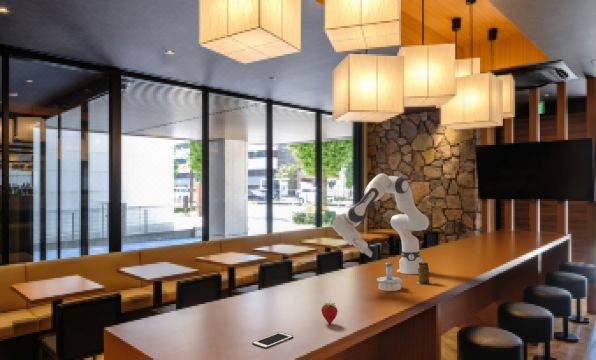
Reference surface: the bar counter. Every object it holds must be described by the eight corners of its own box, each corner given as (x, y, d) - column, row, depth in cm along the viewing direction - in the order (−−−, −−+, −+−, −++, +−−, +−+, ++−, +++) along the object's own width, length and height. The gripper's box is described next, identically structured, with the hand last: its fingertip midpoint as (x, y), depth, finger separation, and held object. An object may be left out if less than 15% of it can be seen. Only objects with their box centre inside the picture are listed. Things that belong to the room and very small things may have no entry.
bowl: (378, 285, 231) (378, 278, 231) (400, 286, 228) (400, 279, 228) (378, 290, 219) (378, 283, 219) (400, 291, 217) (400, 283, 217)
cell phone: (251, 345, 144) (251, 342, 145) (280, 334, 155) (279, 331, 155) (265, 350, 139) (265, 347, 139) (294, 338, 150) (294, 335, 150)
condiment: (422, 281, 239) (421, 261, 240) (435, 283, 233) (434, 262, 233) (415, 283, 235) (414, 262, 235) (428, 285, 228) (427, 264, 229)
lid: (376, 278, 232) (376, 261, 233) (401, 278, 229) (400, 261, 230) (376, 283, 219) (375, 265, 219) (402, 284, 216) (402, 265, 216)
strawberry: (328, 320, 170) (327, 296, 170) (341, 324, 164) (340, 299, 164) (318, 323, 166) (317, 299, 166) (331, 327, 160) (330, 302, 160)
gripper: (356, 235, 218) (374, 253, 216) (358, 232, 238) (375, 248, 236) (348, 244, 219) (366, 262, 217) (351, 239, 239) (368, 256, 237)
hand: (371, 255), depth 226 cm, fingers open, 8 cm apart
